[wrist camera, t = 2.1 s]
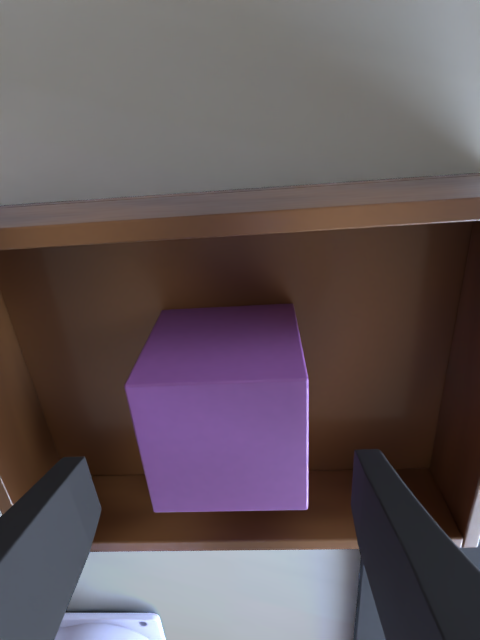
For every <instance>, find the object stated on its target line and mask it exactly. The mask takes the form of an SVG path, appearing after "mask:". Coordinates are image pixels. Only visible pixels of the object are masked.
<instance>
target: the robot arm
mask: <svg viewBox="0 0 480 640" xmlns="http://www.w3.org/2000/svg"><path fill="white" fill-rule="evenodd" d="M351 509H352V515H353V520H354V526H355V531H356V537H357V542H358V547H359V550H360V554H361V557H362V560H363V564H364V567H365V571H366V574H367V578H368V581H369V585H370V588H371V591H372V595H373V598H374V601H375V605H376V608H377V612H378V615H379V618H380V622H381V625H382V629H383V632H384V635H385V639H386V640H480V570H479V569H478V568H477V567H476V566H475V565H474V564H473V563H472V562H471V561H470V559H469V558H468V557H467V556H466V555H465V554H464V553H463V552H462V551H461V550H460V549H459V547H458V546H457V545H456V544H455V543H454V542H453V541H452V540H451V539H450V537H449V536H448V535H447V534H446V533H445V532H444V531H443V530H442V528H441V527H440V526H439V525H438V524H437V522H436V521H435V520H434V519H433V518H432V516H431V515H430V514H429V513H428V512H427V510H426V509H425V508H424V507H423V506H422V505H421V503H420V502H419V501H418V500H417V498H416V497H415V496H414V495H413V493H412V492H411V491H410V489H409V488H408V487H407V485H406V484H405V483H404V482H403V480H402V479H401V478H400V476H399V475H398V474H397V472H396V471H395V469H394V468H393V467H392V465H391V464H390V463H389V461H388V460H387V458H386V457H385V455H384V454H383V453H382V452H381V451H380V450H379V449H360V450H354V464H353V479H352V493H351ZM101 510H102V508H101V505H100V502H99V499H98V496H97V493H96V490H95V486H94V483H93V480H92V477H91V474H90V471H89V468H88V464H87V461H86V458H85V456H83V457H63V458H62V459H61V460H60V461H58V462H57V463H56V464H55V465H54V466H53V467H52V468H51V469H50V470H49V471H48V472H47V473H46V474H45V475H44V476H43V477H42V478H41V479H40V480H39V481H38V482H37V483H36V484H34V485H33V486H32V487H31V488H30V489H29V490H28V491H27V492H26V493H25V494H24V495H23V496H22V497H21V498H20V499H19V500H18V501H17V502H16V503H15V504H14V505H13V506H12V507H10V508H9V509H8V510H7V511H6V512H5V513H4V514H3V515H2V516H1V517H0V640H166V639H165V635H164V631H163V628H162V624H161V620H160V617H159V616H158V615H157V614H155V613H65V612H66V610H67V607H68V605H69V602H70V600H71V597H72V595H73V592H74V590H75V588H76V585H77V583H78V580H79V578H80V575H81V573H82V570H83V568H84V565H85V562H86V560H87V557H88V555H89V552H90V550H91V546H92V543H93V540H94V536H95V533H96V529H97V525H98V521H99V517H100V513H101Z"/></svg>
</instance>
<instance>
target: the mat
mask: <svg viewBox="0 0 480 640" xmlns="http://www.w3.org/2000/svg"><path fill="white" fill-rule="evenodd" d="M459 549H460V550H461V551H462V552H463V553H464V554H465V555H466V556H467V557H468V558H469V559H470V561H471V562H472V563H473V564H474V565H475V566H476V567H477V568H478V569H479V570H480V539H479V543H478V546H477V547H476V548H462V547H461V548H459ZM354 640H386V639H385V635H384V632H383V629H382V625H381V622H380V618H379V615H378V612H377V608H376V605H375V601H374V598H373V595H372V591H371V588H370V585H369V581H368V578H367V574H366V571H365V567H364V564H363V560H362V557H361V563H360V574H359V585H358V596H357V607H356V618H355V629H354Z"/></svg>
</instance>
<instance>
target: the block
mask: <svg viewBox="0 0 480 640" xmlns="http://www.w3.org/2000/svg"><path fill="white" fill-rule="evenodd" d="M124 389H125V393H126V398H127V402H128V406H129V410H130V415H131V419H132V423H133V427H134V431H135V436H136V440H137V444H138V448H139V453H140V457H141V461H142V465H143V469H144V474H145V478H146V482H147V486H148V490H149V495H150V499H151V503H152V507H153V511H154V512H209V511H268V510H307V509H308V452H309V379H308V374H307V369H306V364H305V359H304V354H303V349H302V344H301V339H300V334H299V329H298V324H297V319H296V314H295V309H294V305H293V304H272V305H251V306H231V307H211V308H191V309H171V310H162V311H161V313H160V315H159V317H158V319H157V321H156V323H155V325H154V327H153V329H152V331H151V333H150V335H149V337H148V339H147V341H146V343H145V345H144V347H143V349H142V351H141V353H140V355H139V357H138V359H137V361H136V363H135V365H134V367H133V369H132V371H131V373H130V375H129V377H128V379H127V381H126V383H125V385H124Z"/></svg>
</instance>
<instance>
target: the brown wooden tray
mask: <svg viewBox="0 0 480 640" xmlns="http://www.w3.org/2000/svg"><path fill="white" fill-rule="evenodd" d="M272 304H293V305H294V309H295V314H296V319H297V324H298V329H299V334H300V339H301V344H302V349H303V354H304V359H305V364H306V369H307V374H308V379H309V452H308V509H307V510H268V511H209V512H154V511H153V507H152V503H151V499H150V495H149V490H148V486H147V482H146V478H145V474H144V469H143V465H142V461H141V457H140V453H139V448H138V444H137V440H136V436H135V431H134V427H133V423H132V419H131V415H130V410H129V406H128V402H127V398H126V393H125V389H124V385H125V383H126V381H127V379H128V377H129V375H130V373H131V371H132V369H133V367H134V365H135V363H136V361H137V359H138V357H139V355H140V353H141V351H142V349H143V347H144V345H145V343H146V341H147V339H148V337H149V335H150V333H151V331H152V329H153V327H154V325H155V323H156V321H157V319H158V317H159V315H160V313H161V311H162V310H171V309H191V308H211V307H231V306H251V305H272ZM360 449H379V450H380V451H381V452H382V453H383V454H384V455H385V457H386V458H387V460H388V461H389V463H390V464H391V465H392V467H393V468H394V469H395V471H396V472H397V474H398V475H399V476H400V478H401V479H402V480H403V482H404V483H405V484H406V485H407V487H408V488H409V489H410V491H411V492H412V493H413V495H414V496H415V497H416V498H417V500H418V501H419V502H420V503H421V505H422V506H423V507H424V508H425V509H426V510H427V512H428V513H429V514H430V515H431V516H432V518H433V519H434V520H435V521H436V522H437V524H438V525H439V526H440V527H441V528H442V530H443V531H444V532H445V533H446V534H447V535H448V536H449V537H450V539H451V540H452V541H453V542H454V543H455V544H456V545H457V546H458V547H459V548H461V547H462V548H476V547H477V546H478V543H479V539H480V173H471V174H456V175H441V176H427V177H412V178H398V179H383V180H369V181H354V182H339V183H325V184H310V185H296V186H281V187H266V188H252V189H237V190H223V191H208V192H193V193H179V194H164V195H150V196H135V197H120V198H106V199H91V200H77V201H62V202H47V203H33V204H18V205H4V206H0V511H1V513H2V515H3V514H4V513H5V512H6V511H7V510H8V509H9V508H10V507H12V506H13V505H14V504H15V503H16V502H17V501H18V500H19V499H20V498H21V497H22V496H23V495H24V494H25V493H26V492H27V491H28V490H29V489H30V488H31V487H32V486H33V485H34V484H36V483H37V482H38V481H39V480H40V479H41V478H42V477H43V476H44V475H45V474H46V473H47V472H48V471H49V470H50V469H51V468H52V467H53V466H54V465H55V464H56V463H57V462H58V461H60V460H61V459H62V458H63V457H83V456H85V458H86V461H87V464H88V468H89V471H90V474H91V477H92V480H93V483H94V486H95V490H96V493H97V496H98V499H99V502H100V505H101V508H102V510H101V513H100V517H99V521H98V525H97V529H96V533H95V536H94V540H93V543H92V546H91V550H90V552H118V551H213V550H307V549H359V547H358V542H357V537H356V531H355V526H354V520H353V515H352V509H351V493H352V479H353V464H354V450H360Z"/></svg>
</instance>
